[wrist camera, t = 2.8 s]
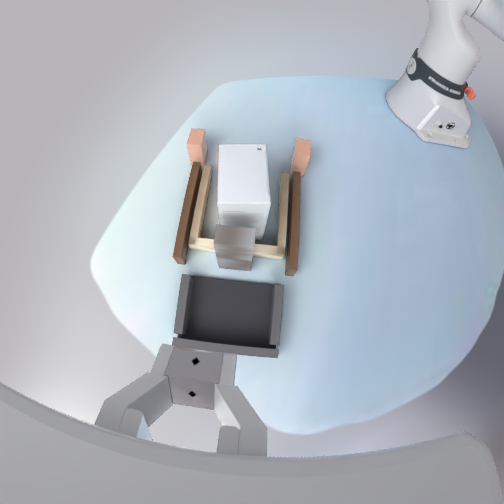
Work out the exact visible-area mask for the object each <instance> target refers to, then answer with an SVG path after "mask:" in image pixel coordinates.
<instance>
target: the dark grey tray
mask: <svg viewBox="0 0 504 504" xmlns="http://www.w3.org/2000/svg"><path fill="white" fill-rule="evenodd" d="M283 290H284V285H277V284H275V285H270V284H260V283H250V282H240V281H231V280H222V279H213V278H205V277H196V276H191V275H186V274H182V278H181V284H180V291H179V297H178V304H177V311H176V319H175V326H174V333H176V334H178V338H175V337H173V342H172V345H173V346H179V347H185V348H190V349H197V350H206V351H214V352H223V353H232V354H238V355H248V356H259V357H271V358H278V351H279V349H276V345H279V340H280V328H281V316H282V303H283Z"/></svg>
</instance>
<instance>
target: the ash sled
mask: <svg viewBox="0 0 504 504" xmlns="http://www.w3.org/2000/svg"><path fill="white" fill-rule="evenodd" d="M211 177H212V168H211V165H204V168H203V173H202V177H201V182H200V187H199V192H198V196H197V201H196V206H195V211H194V217H193V222H192V227H191V232H190V238H189V244H188V245H189V247H190V249H191V250H200V251H209V252H216V257H217V261H218V265H219V268H226V269H235V270H245V271H250V270H251V264H252V258H253V256H256V257H265V258H274V259H283V258H284V256H285V248H286V231H287V213H288V192H289V173H282V175H281V179H280V194H279V210H278V225H277V239H276V246H272V245H263V244H255V234H256V228H247V227H237V226H227V225H217V224H216V229H215V236H214V239H206V238H200V237H201V231H202V225H203V219H204V214H205V208H206V203H207V197H208V192H209V187H210V182H211Z"/></svg>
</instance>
